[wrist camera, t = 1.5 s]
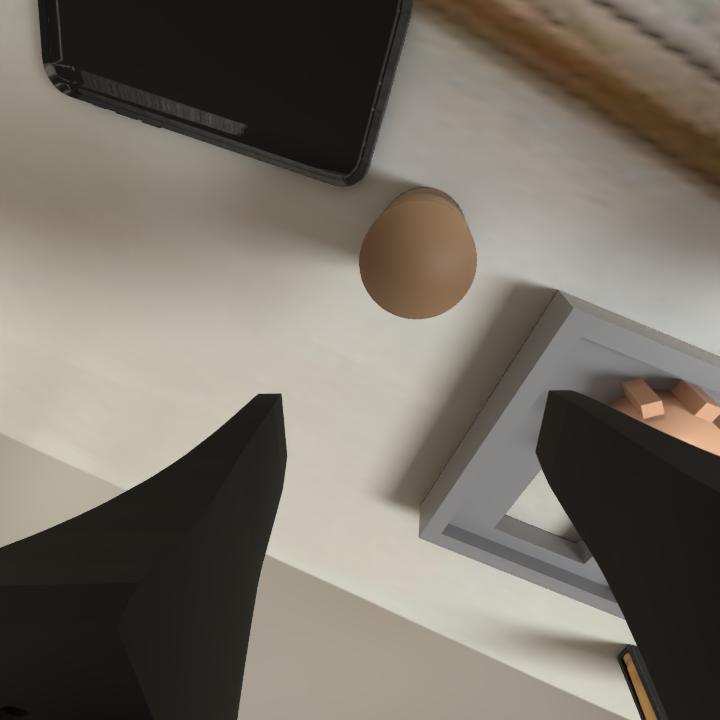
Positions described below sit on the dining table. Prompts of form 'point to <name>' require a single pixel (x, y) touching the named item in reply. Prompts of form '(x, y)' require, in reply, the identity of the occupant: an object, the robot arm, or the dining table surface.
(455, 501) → the housing
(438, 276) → the brown rounded cylinder
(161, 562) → the robot arm
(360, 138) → the phone
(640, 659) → the ammunition clip
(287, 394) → the dining table surface
